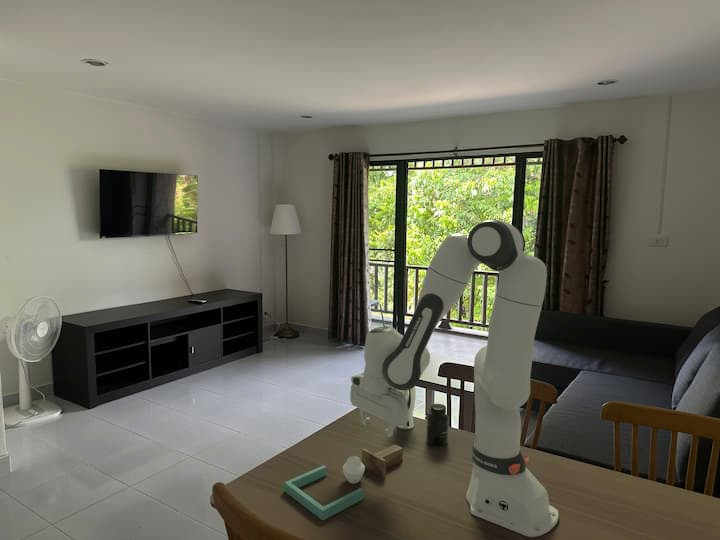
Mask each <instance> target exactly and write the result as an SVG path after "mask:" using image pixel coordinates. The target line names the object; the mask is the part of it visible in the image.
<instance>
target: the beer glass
mask: <svg viewBox="0 0 720 540" xmlns="http://www.w3.org/2000/svg"><path fill="white" fill-rule="evenodd" d="M395 390H397V391H400V392H402V393H403V395H404V396H405V398H406V403H407V413H408V421H407V423H406V424H404V425H402V426H399V427H397V428H398V429H401V430H406V429H407V430H412V429H413V428H414V426H415V423H414V417H413V416H414V410H415V405H416V397H417V396H416V395H417V394H416V393H417V392H416V390H417V389H416V386H415V387H413V388H412V389H409V390H398V389H395ZM407 430H406V431H407Z"/></svg>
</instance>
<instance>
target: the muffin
mask: <svg viewBox="0 0 720 540" xmlns="http://www.w3.org/2000/svg"><path fill="white" fill-rule="evenodd" d="M365 470H366V467H365V466H364V464H363V463H362V460H361V459H360V457H359V456H357V455H351V456H349V457H348V458H347V460H346V462H345V463H344V464H343V466H342V472H343V474H344V477H345V478H346V480H347V482H348V483H350V484H357V483H359V482H360V481H361V480H362V478H363V475H364V473H365Z"/></svg>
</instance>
